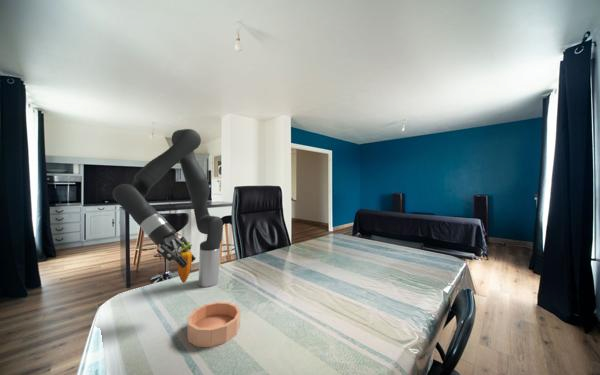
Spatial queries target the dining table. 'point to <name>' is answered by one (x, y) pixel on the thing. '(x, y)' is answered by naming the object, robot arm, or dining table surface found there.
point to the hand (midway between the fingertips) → (189, 263)
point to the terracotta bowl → (213, 324)
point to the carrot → (188, 257)
